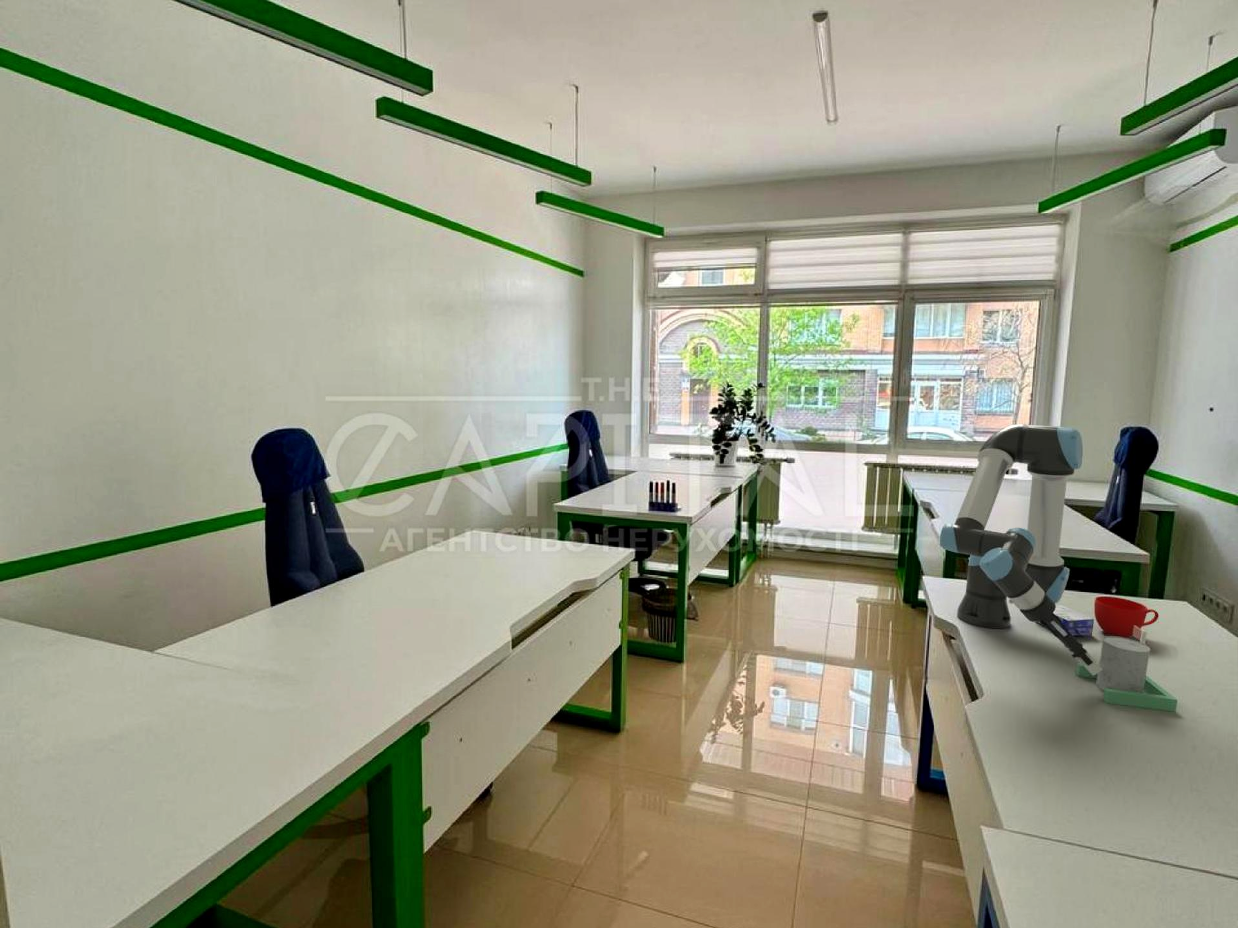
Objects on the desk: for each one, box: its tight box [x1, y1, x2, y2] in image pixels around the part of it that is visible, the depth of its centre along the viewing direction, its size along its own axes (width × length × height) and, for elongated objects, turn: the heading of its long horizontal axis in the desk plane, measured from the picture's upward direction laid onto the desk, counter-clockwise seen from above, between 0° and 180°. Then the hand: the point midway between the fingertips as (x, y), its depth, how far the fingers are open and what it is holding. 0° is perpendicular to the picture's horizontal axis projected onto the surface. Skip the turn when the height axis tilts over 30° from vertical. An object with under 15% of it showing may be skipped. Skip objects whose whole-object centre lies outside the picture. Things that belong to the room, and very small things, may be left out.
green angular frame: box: [1075, 625, 1178, 713], centre depth 163 cm, size 20×14×14 cm
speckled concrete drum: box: [1095, 635, 1151, 693], centre depth 162 cm, size 10×10×12 cm
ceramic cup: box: [1093, 595, 1159, 639], centre depth 200 cm, size 13×17×10 cm
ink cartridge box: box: [1036, 605, 1095, 637], centre depth 202 cm, size 10×6×14 cm
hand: (1096, 671), depth 163 cm, fingers closed
